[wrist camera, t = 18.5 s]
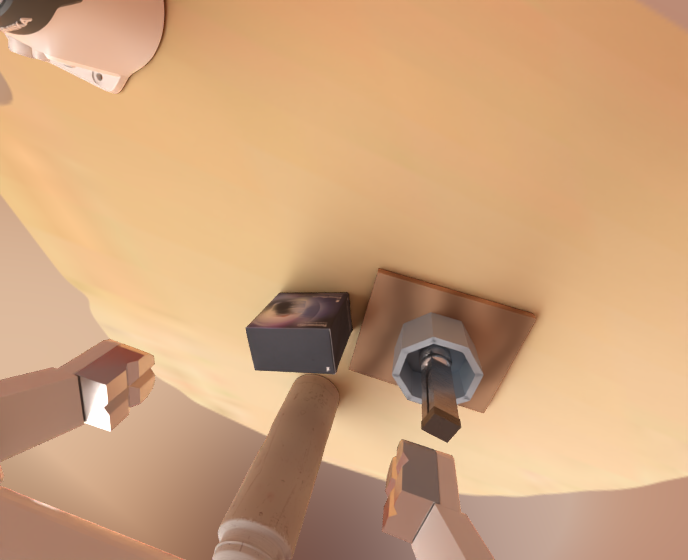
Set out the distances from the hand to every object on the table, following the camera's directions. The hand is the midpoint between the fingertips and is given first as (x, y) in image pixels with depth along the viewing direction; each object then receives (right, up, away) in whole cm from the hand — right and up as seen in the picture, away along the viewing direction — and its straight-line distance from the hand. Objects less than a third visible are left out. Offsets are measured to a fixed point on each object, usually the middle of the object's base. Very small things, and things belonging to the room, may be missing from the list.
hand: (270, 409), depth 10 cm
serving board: (+15, -4, +35) cm, 38 cm away
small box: (-2, 0, +37) cm, 37 cm away
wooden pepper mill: (-2, -14, +43) cm, 46 cm away
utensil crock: (+14, -5, +34) cm, 37 cm away
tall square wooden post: (+14, -5, +33) cm, 36 cm away
